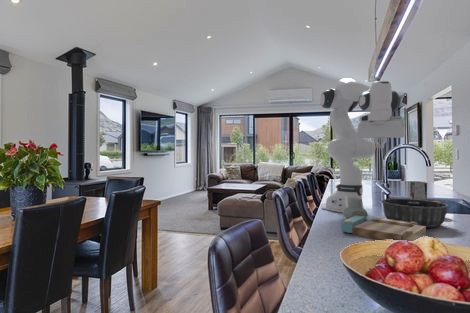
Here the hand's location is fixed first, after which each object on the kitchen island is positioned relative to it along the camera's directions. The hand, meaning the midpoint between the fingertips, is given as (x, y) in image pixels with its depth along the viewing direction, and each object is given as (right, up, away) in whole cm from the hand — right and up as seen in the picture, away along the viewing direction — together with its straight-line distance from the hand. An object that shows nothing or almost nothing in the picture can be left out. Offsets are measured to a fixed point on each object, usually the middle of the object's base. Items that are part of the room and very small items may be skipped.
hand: (380, 148), depth 155 cm
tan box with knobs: (-4, -34, -20) cm, 40 cm away
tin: (+31, -34, +14) cm, 48 cm away
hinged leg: (-16, -34, -12) cm, 39 cm away
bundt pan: (+15, -34, -1) cm, 37 cm away
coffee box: (+32, -34, +28) cm, 54 cm away
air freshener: (-8, -34, +8) cm, 36 cm away
